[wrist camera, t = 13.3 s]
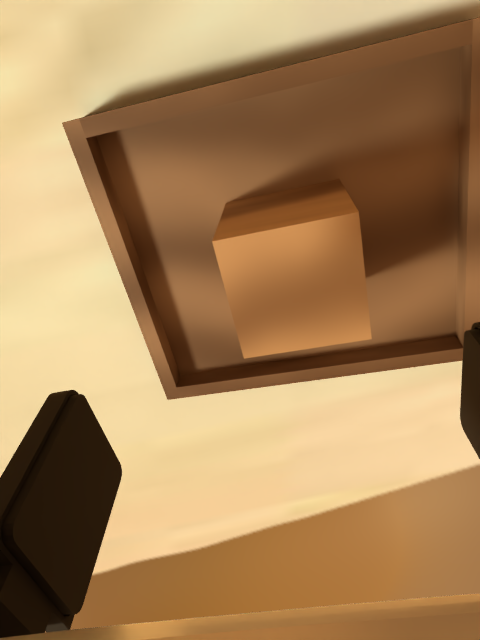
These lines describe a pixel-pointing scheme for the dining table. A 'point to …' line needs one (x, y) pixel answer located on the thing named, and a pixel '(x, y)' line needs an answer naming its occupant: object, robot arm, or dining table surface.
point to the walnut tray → (293, 172)
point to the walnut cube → (294, 269)
